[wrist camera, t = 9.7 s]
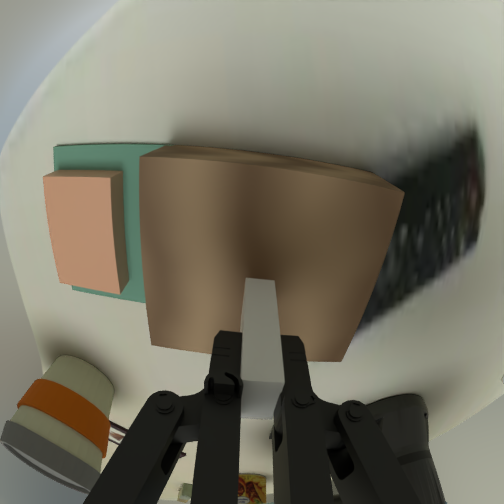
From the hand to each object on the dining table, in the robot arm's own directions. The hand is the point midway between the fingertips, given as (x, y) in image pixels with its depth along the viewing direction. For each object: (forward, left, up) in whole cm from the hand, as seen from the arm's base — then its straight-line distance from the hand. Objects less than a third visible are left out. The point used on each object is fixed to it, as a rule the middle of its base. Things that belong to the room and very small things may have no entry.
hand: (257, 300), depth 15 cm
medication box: (+9, +71, -7) cm, 72 cm away
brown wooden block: (0, 0, -6) cm, 6 cm away
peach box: (+13, 0, -4) cm, 13 cm away
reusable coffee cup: (+20, +22, -7) cm, 30 cm away
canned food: (-5, +54, -7) cm, 54 cm away
